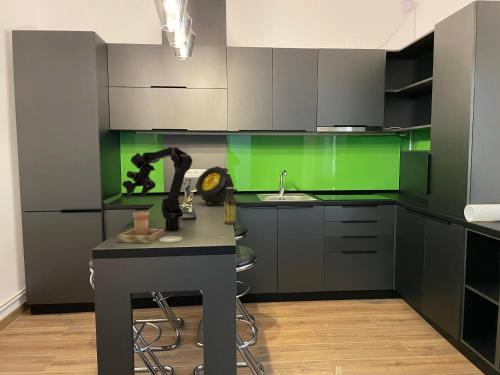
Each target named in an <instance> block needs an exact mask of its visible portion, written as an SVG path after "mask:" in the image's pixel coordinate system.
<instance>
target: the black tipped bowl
mask: <svg viewBox="0 0 500 375" xmlns="http://www.w3.org/2000/svg"><path fill="white" fill-rule="evenodd" d="M228 172H229V169H228V168H226V167H224V168H223V167H220V166H217V165H216V166H213V167H210V168H207V169H205V170H204V172H202V173H201V174H200V175H199V176H198V179H197V181H196V182H195V183H196V184H195V190H196V194H197V195H199V196H201V199H202V200H203V201H204V202H205V205H206V206H208V207H211V206H213V205H218V204H222V203H224V201H225V198H226V195H227V191H226V188H228V187H232V188H234V191H233V193H235V192H238V189H237V188H236V189H235V185H234V182H233V179H232V176H231V174H229V173H228Z"/></svg>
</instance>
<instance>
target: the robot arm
mask: <svg viewBox="0 0 500 375" xmlns="http://www.w3.org/2000/svg"><path fill="white" fill-rule="evenodd" d="M168 157H169V158H170V160H171V161H172V162H173V167H174V174H173V177H172V181H171V186H170V190H169V194H168V197H167V198H165V197H164V198H163V199H162V202H161V205H160V206H161V212H162V218H163V219H165V229H164V231H170V232H171V231H172V232H173V231H174V232H177V231H179V230H181V229H182V227H181V218H183V217H184V212H183V211H182V209H181V208H180V204H181V203H180V201H179V196H180V194H181V190H182V186H183V184H184V183H183V182H184V179H185V175H186V173H187V172H188V171H189V170H190V168H191V166H192V163H193V158H192V157H191V155H189V154H188V153H187V152H185V151H183V150H181V149H180V148H179V147H177V146H168V147H167V148H164V149H160V150H157V151H155V152H154V151H153V152H152V151H151V152H143V153H142V154H141V153H139V152H136V153H135V154H134V155H132V157H131V158H130V162H131V164H132V165H133V166H134V167H136V169H138V170H139V171H138V172H137V171H131V170H128V171H127V172H126V178H127V179H132V181H131V180H123V182H122V187H124V189H126V190H125V191H126V199H130V197H132V195H133V194H134V193H135V189H136V188H137V187H142V189H141V192H140V197H144V196H145V195H146V194H147V193H149V192H150V191H151V190H153V189H155V188H156V182H155V181H153V179H151V177H150V175H151V173H152V172H151V171H153V172H154V171H155V167H154V165H153V164H156V163H158V162H159V161H160V160H163V159H165V158H168Z"/></svg>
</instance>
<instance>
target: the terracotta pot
mask: <svg viewBox="0 0 500 375" xmlns="http://www.w3.org/2000/svg"><path fill="white" fill-rule="evenodd" d="M149 217H150V212H149V211H145V210H144V211H143V210H141V211H140V210H138V211H134V212H132V218H134V220H133V222H134V225H133V226H134V227H133V228H135V235H137V236H149V230H148V229H149Z"/></svg>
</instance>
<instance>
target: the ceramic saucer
mask: <svg viewBox="0 0 500 375" xmlns="http://www.w3.org/2000/svg"><path fill="white" fill-rule="evenodd" d="M182 240H183V237H182V236H178V235H169V236H168V235H167V236H163V237H161V238H159V239H158V242H159V243H163V244H175V243H179V242H180V243H181V241H182Z"/></svg>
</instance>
